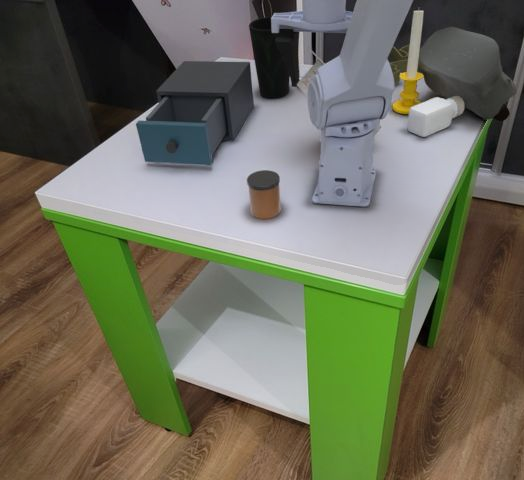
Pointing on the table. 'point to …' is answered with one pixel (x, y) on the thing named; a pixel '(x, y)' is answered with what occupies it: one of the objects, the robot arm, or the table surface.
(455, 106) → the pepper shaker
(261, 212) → the jar
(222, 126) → the drawer
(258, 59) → the cup
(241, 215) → the table surface
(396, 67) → the cookie cutter
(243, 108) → the cabinet
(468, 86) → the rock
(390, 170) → the table surface
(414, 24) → the candle
